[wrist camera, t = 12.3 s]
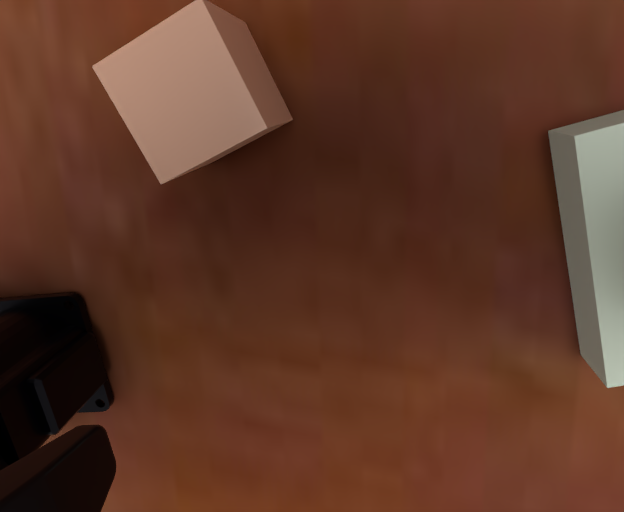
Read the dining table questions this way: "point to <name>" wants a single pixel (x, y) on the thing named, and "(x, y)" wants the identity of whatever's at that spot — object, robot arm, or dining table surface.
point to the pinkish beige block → (193, 89)
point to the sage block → (594, 235)
